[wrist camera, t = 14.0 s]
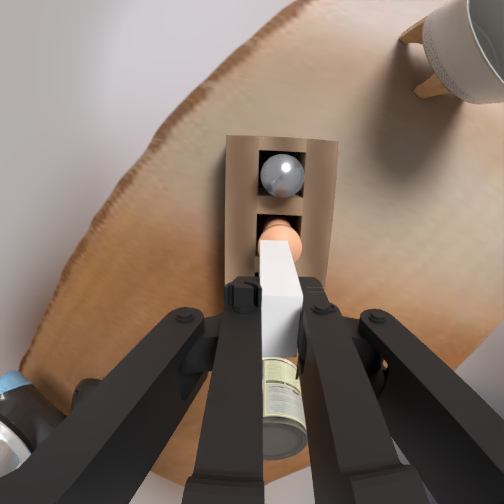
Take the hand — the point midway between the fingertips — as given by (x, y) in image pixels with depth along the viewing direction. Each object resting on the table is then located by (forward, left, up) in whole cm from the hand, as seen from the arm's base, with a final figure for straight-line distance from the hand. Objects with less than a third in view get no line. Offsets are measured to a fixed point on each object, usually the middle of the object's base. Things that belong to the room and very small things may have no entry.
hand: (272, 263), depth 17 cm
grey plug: (+1, +3, -22) cm, 23 cm away
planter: (+23, +21, -24) cm, 39 cm away
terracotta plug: (+1, -4, -21) cm, 21 cm away
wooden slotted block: (+1, -4, -23) cm, 24 cm away
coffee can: (+2, -30, -24) cm, 39 cm away
